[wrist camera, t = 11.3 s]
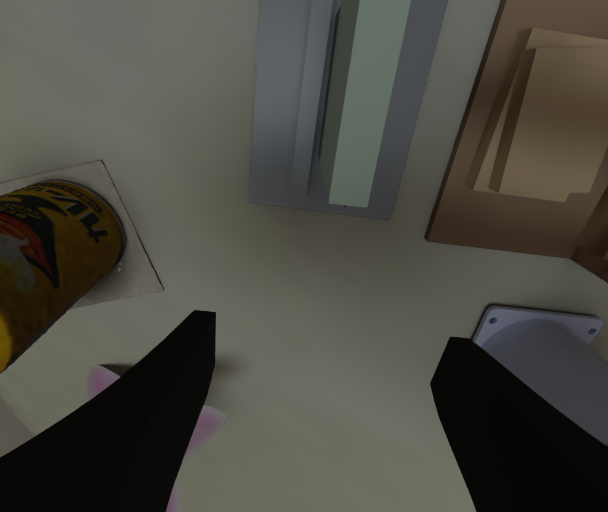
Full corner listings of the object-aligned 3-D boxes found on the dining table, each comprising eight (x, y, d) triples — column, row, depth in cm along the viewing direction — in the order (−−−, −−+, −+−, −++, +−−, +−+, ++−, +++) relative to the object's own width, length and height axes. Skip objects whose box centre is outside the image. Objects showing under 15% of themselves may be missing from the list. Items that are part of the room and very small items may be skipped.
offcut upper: (574, 187, 17) (589, 192, 16) (488, 187, 17) (498, 193, 16) (624, 49, 14) (646, 46, 13) (522, 50, 14) (536, 47, 13)
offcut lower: (551, 196, 18) (564, 202, 17) (464, 184, 18) (472, 190, 17) (623, 48, 15) (643, 45, 14) (519, 31, 15) (532, 27, 14)
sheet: (340, 157, 17) (367, 207, 10) (317, 154, 17) (328, 203, 10) (363, 18, 15) (420, -47, 7) (336, 14, 15) (368, -56, 7)
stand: (387, 217, 19) (398, 234, 17) (249, 199, 19) (242, 215, 17) (458, -52, 14) (487, -78, 12) (266, -86, 13) (259, -120, 11)
